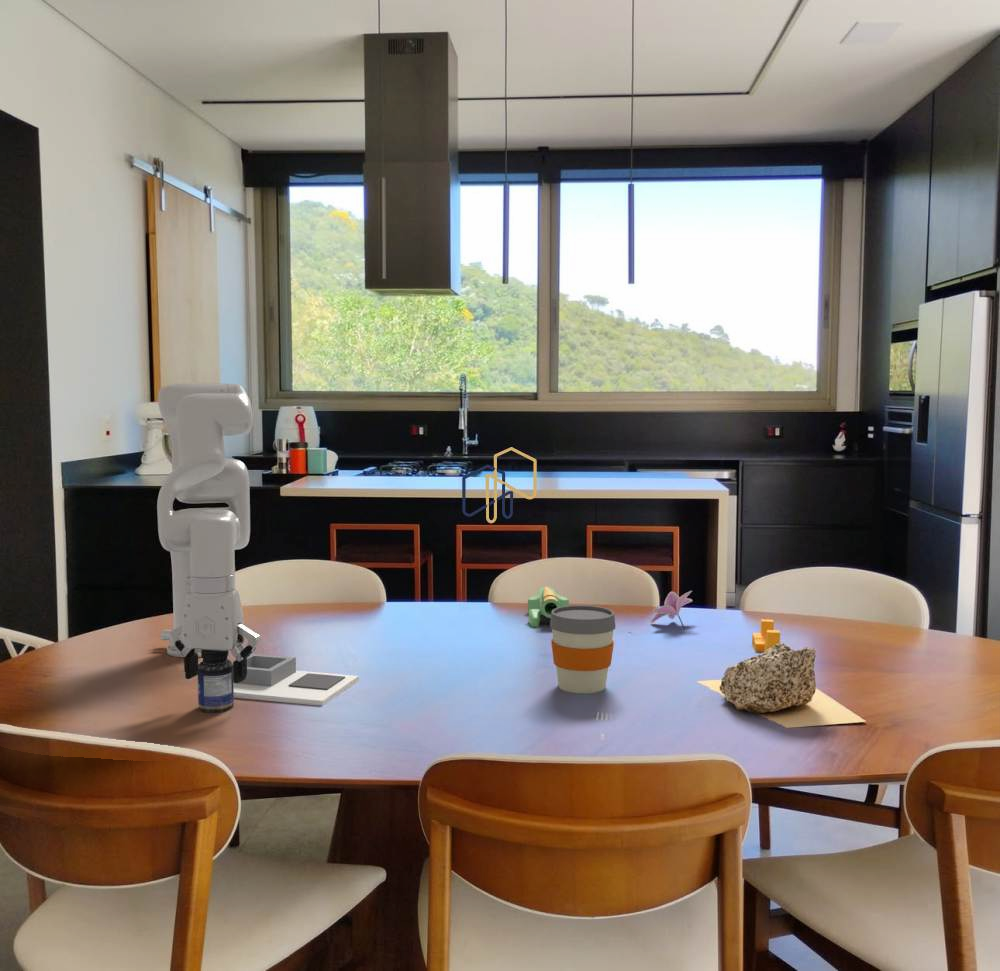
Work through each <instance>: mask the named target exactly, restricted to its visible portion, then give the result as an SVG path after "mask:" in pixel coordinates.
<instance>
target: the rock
mask: <svg viewBox="0 0 1000 971" xmlns="http://www.w3.org/2000/svg"><path fill="white" fill-rule="evenodd" d="M816 653H817V652H816V650H815V648H814V647H804V648H801V649H797V650H794V649H792V648H791V647H790V646H787V645H786V644H785V643H784V642H781V641H780V642H779V643H778V644H776V645H774V646H773V647H772V648H769V649H767V650H766V651H764V652H760V654H758V655H756V656H752V657H750V658H745V659H744V660H741V661H738V662H737V664H736V663H735V664H733V665H730V666H728V667H727V668H726V669H725V672H723V673H724V674H723V675H724V676H723V677H722V678H721V679H710V680H697V681H696V682H697V683H699V684H701V685H703V686H706V688H708V689H710V691H714V692H716V693H718V694H720V695H721V697H725V698H726V701H727V702H730V703H731V704H733V705H734V707H735V708H736V709H737V710H743V711H747V713H749V714H755V715H759V716H761V718H763V719H765V718H766V719H767V721H769V722H775V723H776V724H777V725H778V724H779V725H781V724H782V725H781V726H782V727H785V729H789V728H790V729H791V728H801V727H802V728H804V727H814V726H816V727H817V726H826V725H827V726H829V725H839V724H854V723H856V724H857V723H865V722H867V720H865V719H864V718H862V717H860V716H859V715H857V714H856V713H854V712H853V711H852V710H850V709H848V708H847V707H846V706H844V705H842V704H841V703H839V702H837V700H835V699H833V698H832V697H830V696H828V694H826V693H824V692H823V691H822V690H819V689H818V688H817V686H816V674H815V661H816V659H815V658H816V657H817V656H816ZM760 713H761V714H760Z"/></svg>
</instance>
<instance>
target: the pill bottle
mask: <svg viewBox="0 0 1000 971" xmlns="http://www.w3.org/2000/svg"><path fill="white" fill-rule="evenodd" d="M229 652H230V651H229V650H228V651H213V650H201V657H200V658H202V660H201V661H200V663H198V668H197V670H198V675H197V697H198V698H197V699H198V703H197V704H198V710H199V711H201V712H202V713H205V714H206V713H207V714H217V713H222V712H223V713H224V712H227V711H229V710H231V709H233V708H234V704H235V702H234V700H235V698H234V690H233V664H232V663H233V661H231V660H230V659H228V657H229Z"/></svg>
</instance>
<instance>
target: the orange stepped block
mask: <svg viewBox="0 0 1000 971" xmlns="http://www.w3.org/2000/svg"><path fill="white" fill-rule="evenodd" d="M774 623H775V622H774V620H773V619H760V628H759V629H760V632H752V636H751V645H752V647H753V650H754V652H756V653H763V652H764V651H766V650H767V649H769V648H772V647H773V646H774V645H776V644H778V643H779V642H781V632H780V630H776V629H775V627H774V626H775V624H774Z"/></svg>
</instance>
